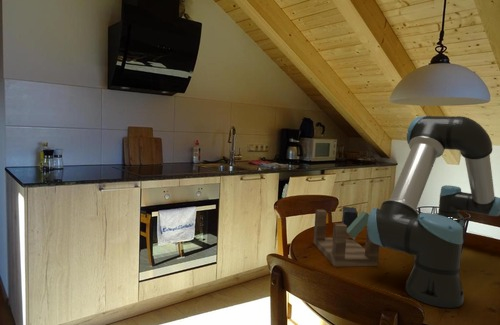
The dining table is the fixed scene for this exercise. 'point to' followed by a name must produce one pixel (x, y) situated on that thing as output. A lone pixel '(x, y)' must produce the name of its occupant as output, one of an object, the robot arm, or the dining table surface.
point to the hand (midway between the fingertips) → (374, 221)
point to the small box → (349, 215)
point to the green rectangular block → (358, 225)
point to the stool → (343, 245)
